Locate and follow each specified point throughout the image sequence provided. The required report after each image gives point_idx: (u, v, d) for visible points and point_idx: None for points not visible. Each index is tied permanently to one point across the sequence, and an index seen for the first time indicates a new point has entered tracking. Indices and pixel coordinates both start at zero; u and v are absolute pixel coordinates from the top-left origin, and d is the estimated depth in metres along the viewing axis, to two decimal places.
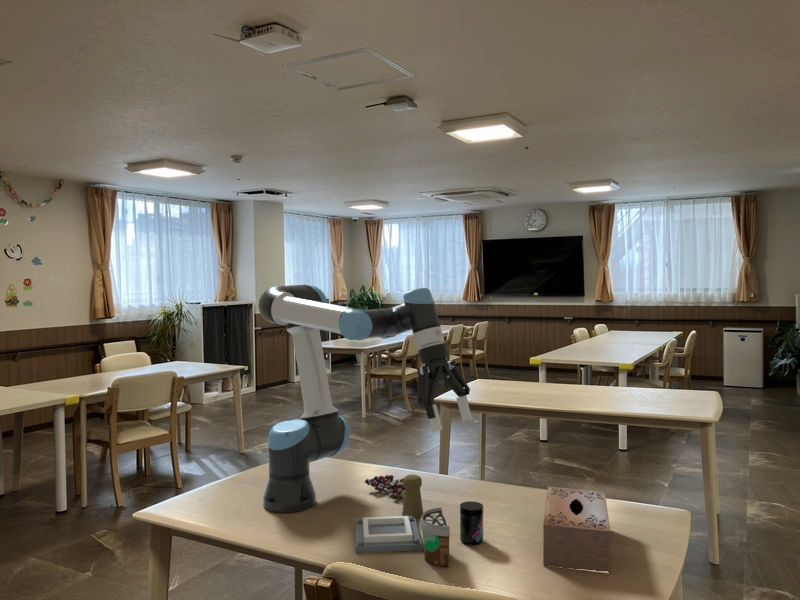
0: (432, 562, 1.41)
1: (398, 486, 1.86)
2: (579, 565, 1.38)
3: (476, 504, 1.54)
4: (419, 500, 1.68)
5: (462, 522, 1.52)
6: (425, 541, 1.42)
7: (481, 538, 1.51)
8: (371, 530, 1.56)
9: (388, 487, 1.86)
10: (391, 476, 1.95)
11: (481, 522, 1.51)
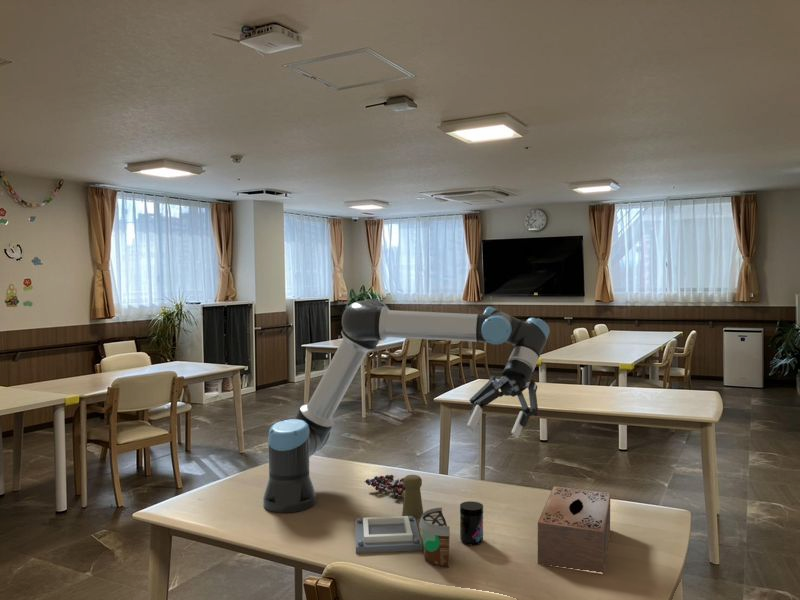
0: (432, 562, 1.41)
1: (399, 486, 1.86)
2: (573, 564, 1.38)
3: (476, 504, 1.54)
4: (419, 500, 1.68)
5: (462, 522, 1.52)
6: (425, 541, 1.42)
7: (481, 538, 1.51)
8: (371, 530, 1.56)
9: (389, 487, 1.86)
10: (391, 476, 1.95)
11: (481, 522, 1.51)
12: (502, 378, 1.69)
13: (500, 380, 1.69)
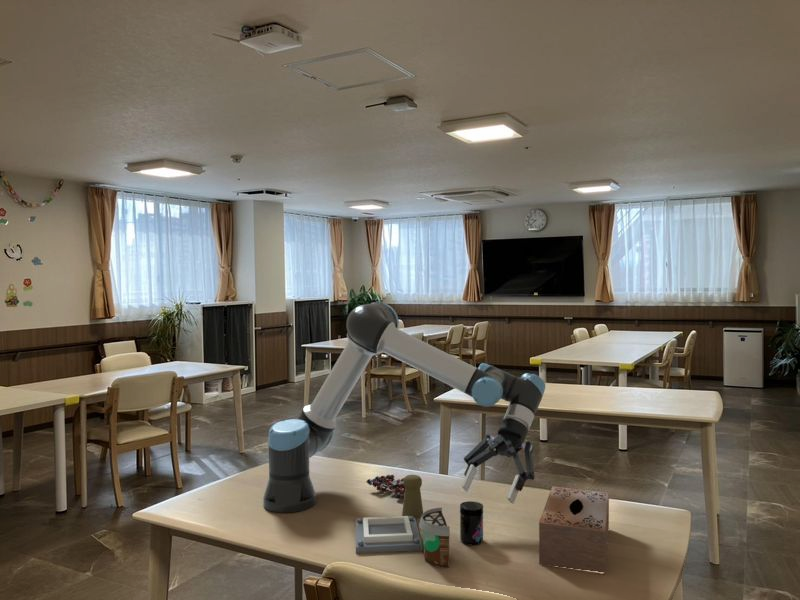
0: (432, 562, 1.41)
1: (400, 485, 1.86)
2: (575, 564, 1.38)
3: (476, 504, 1.54)
4: (419, 500, 1.68)
5: (462, 522, 1.52)
6: (425, 541, 1.42)
7: (481, 538, 1.51)
8: (371, 530, 1.56)
9: (390, 487, 1.86)
10: (392, 476, 1.95)
11: (481, 522, 1.51)
12: (497, 437, 1.66)
13: (495, 439, 1.66)
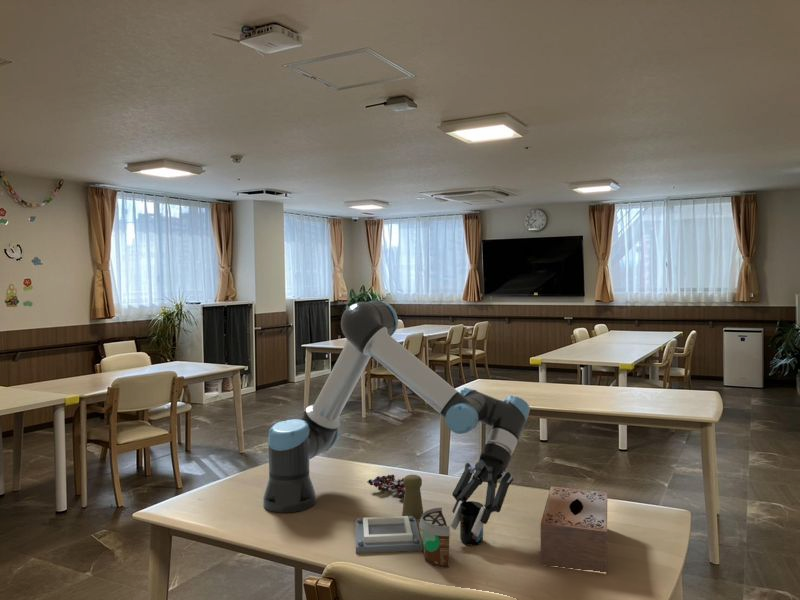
0: (432, 562, 1.41)
1: (402, 485, 1.86)
2: (576, 564, 1.38)
3: (476, 504, 1.54)
4: (419, 500, 1.68)
5: (462, 522, 1.52)
6: (425, 541, 1.42)
7: (481, 538, 1.51)
8: (371, 530, 1.56)
9: (392, 487, 1.86)
10: (392, 476, 1.95)
11: None
12: (478, 462, 1.61)
13: (477, 465, 1.61)
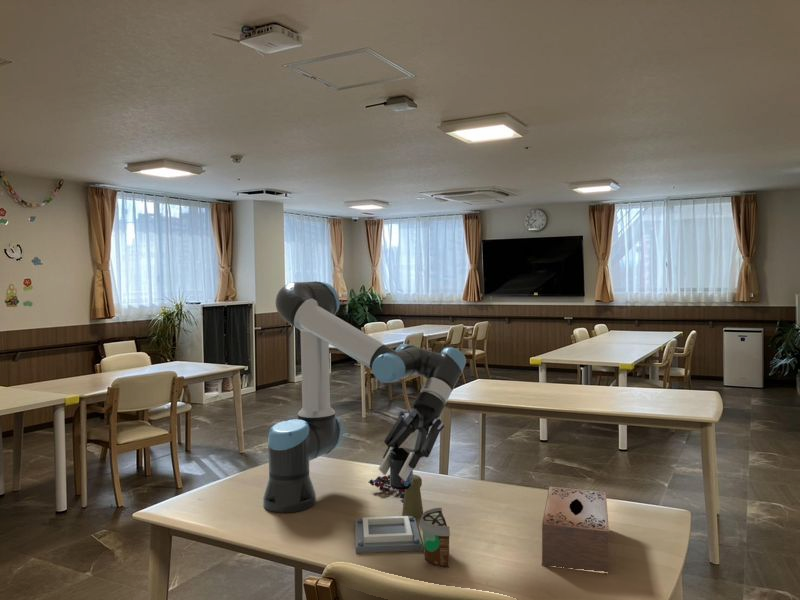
0: (432, 562, 1.41)
1: None
2: (578, 564, 1.38)
3: (406, 450, 1.55)
4: (419, 500, 1.68)
5: (391, 467, 1.53)
6: (425, 541, 1.42)
7: (410, 483, 1.53)
8: (371, 530, 1.56)
9: None
10: None
11: None
12: (412, 410, 1.62)
13: (410, 413, 1.61)
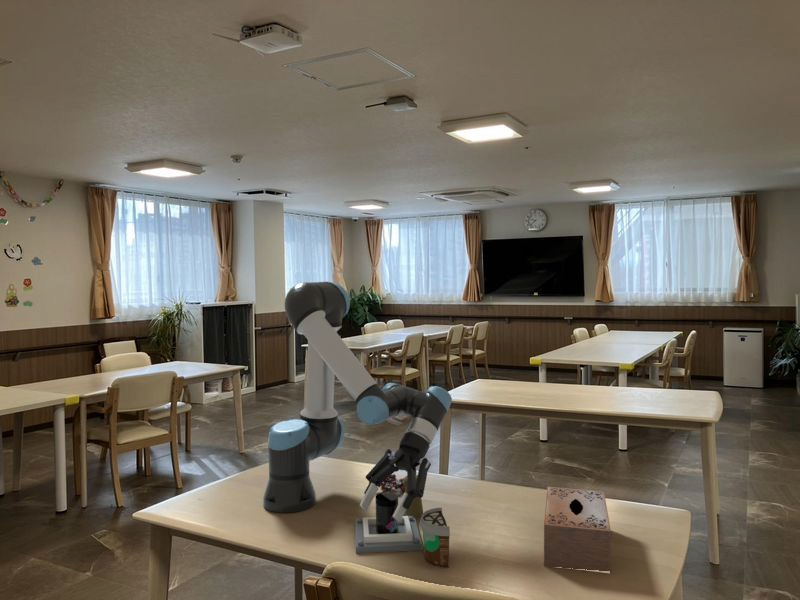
0: (432, 562, 1.41)
1: None
2: (580, 565, 1.38)
3: (392, 495, 1.56)
4: (419, 500, 1.68)
5: (377, 513, 1.54)
6: (425, 541, 1.42)
7: (395, 528, 1.54)
8: (371, 530, 1.56)
9: (395, 486, 1.86)
10: (394, 475, 1.95)
11: None
12: (398, 451, 1.63)
13: (396, 453, 1.63)
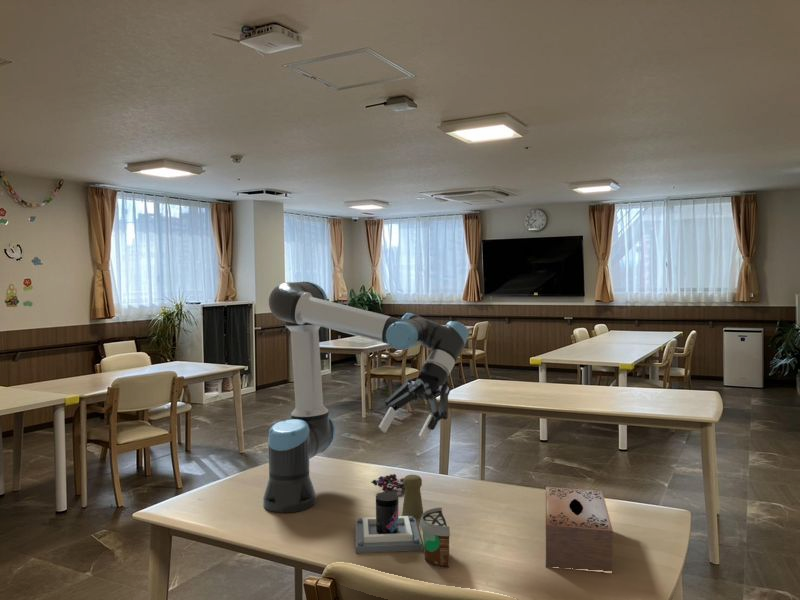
0: (432, 562, 1.41)
1: None
2: (582, 565, 1.38)
3: (392, 495, 1.56)
4: (419, 500, 1.68)
5: (377, 513, 1.54)
6: (425, 541, 1.42)
7: (395, 529, 1.54)
8: (371, 530, 1.56)
9: (397, 486, 1.86)
10: (394, 475, 1.96)
11: (395, 513, 1.54)
12: (417, 381, 1.69)
13: (415, 383, 1.68)
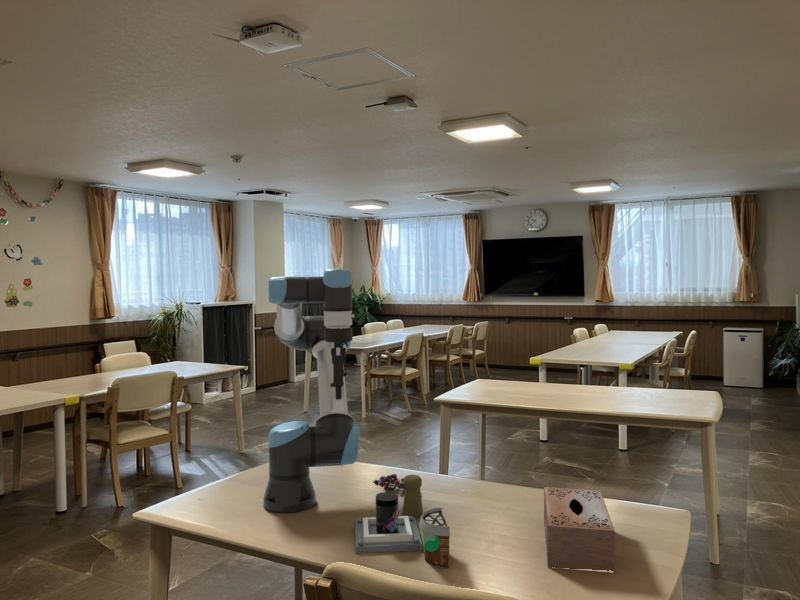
0: (432, 562, 1.41)
1: None
2: (584, 565, 1.38)
3: (392, 495, 1.56)
4: (419, 500, 1.68)
5: (377, 513, 1.54)
6: (425, 541, 1.42)
7: (395, 528, 1.54)
8: (371, 530, 1.56)
9: (399, 486, 1.87)
10: None
11: (395, 513, 1.54)
12: None
13: None
